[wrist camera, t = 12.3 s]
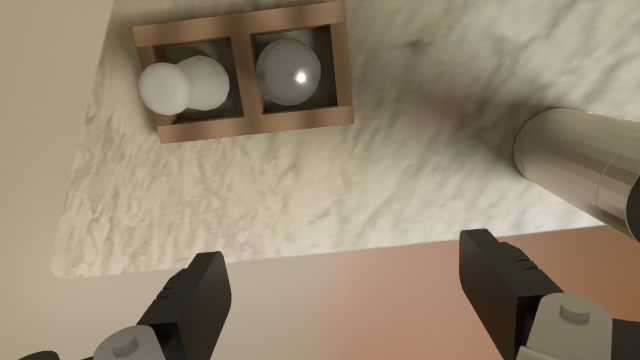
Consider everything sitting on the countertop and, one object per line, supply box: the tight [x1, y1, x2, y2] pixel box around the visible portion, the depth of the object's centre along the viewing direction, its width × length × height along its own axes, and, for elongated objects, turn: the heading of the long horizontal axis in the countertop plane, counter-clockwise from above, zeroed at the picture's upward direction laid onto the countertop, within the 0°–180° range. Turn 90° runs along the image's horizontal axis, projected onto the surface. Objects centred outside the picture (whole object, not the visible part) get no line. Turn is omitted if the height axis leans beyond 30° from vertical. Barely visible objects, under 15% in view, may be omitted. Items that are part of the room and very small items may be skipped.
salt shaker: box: [137, 55, 230, 115], centre depth 35 cm, size 6×6×13 cm
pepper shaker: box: [256, 39, 322, 106], centre depth 36 cm, size 6×6×10 cm
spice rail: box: [131, 0, 354, 144], centre depth 40 cm, size 22×12×3 cm, turn 96°
